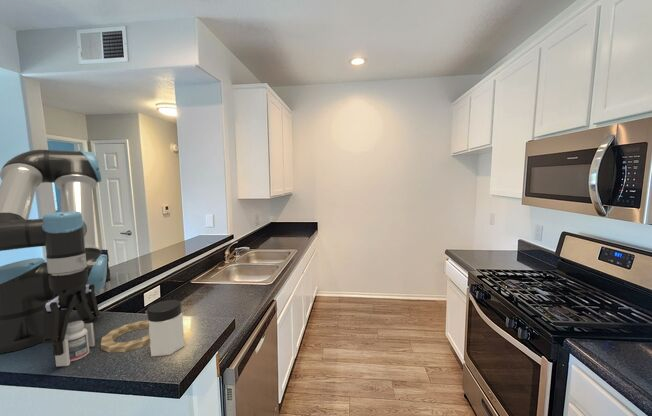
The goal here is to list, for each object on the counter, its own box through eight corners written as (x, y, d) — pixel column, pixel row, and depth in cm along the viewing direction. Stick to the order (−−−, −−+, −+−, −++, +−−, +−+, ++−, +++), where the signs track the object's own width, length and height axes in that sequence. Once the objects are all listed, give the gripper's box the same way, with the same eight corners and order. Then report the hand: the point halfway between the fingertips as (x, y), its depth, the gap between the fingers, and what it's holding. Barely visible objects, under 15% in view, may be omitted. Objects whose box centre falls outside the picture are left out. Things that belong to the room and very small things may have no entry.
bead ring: (87, 354, 76) (87, 348, 76) (123, 326, 91) (123, 321, 91) (146, 350, 77) (146, 345, 77) (172, 323, 92) (172, 319, 92)
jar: (190, 338, 82) (187, 298, 81) (178, 355, 74) (175, 311, 73) (157, 340, 82) (154, 300, 81) (142, 358, 74) (138, 313, 73)
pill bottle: (68, 353, 76) (65, 321, 76) (92, 348, 79) (89, 317, 78) (59, 364, 72) (55, 330, 71) (85, 359, 74) (82, 326, 73)
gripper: (48, 284, 63) (58, 380, 65) (110, 260, 84) (117, 334, 86) (11, 286, 63) (23, 383, 65) (83, 261, 83) (90, 335, 85)
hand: (76, 355), depth 75 cm, fingers open, 8 cm apart
